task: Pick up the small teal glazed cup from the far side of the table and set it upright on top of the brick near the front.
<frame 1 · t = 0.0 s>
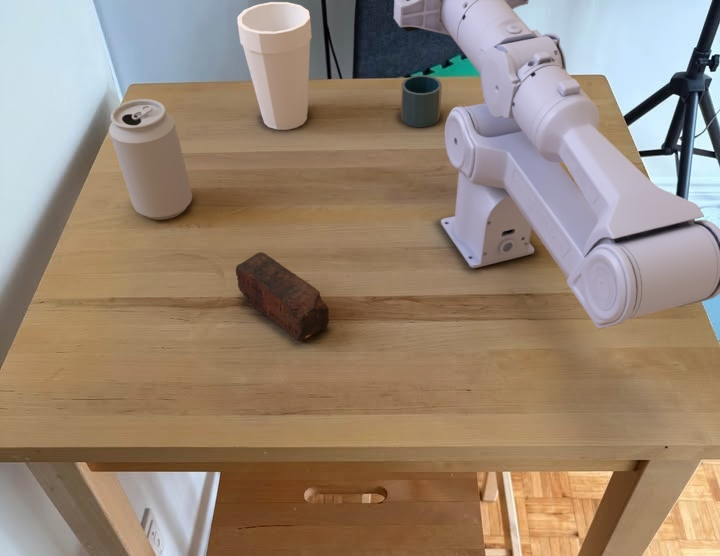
can: (164, 207, 90), on the table
cup: (420, 117, 101), on the table
brick: (284, 315, 78), on the table
foam cup: (285, 119, 102), on the table
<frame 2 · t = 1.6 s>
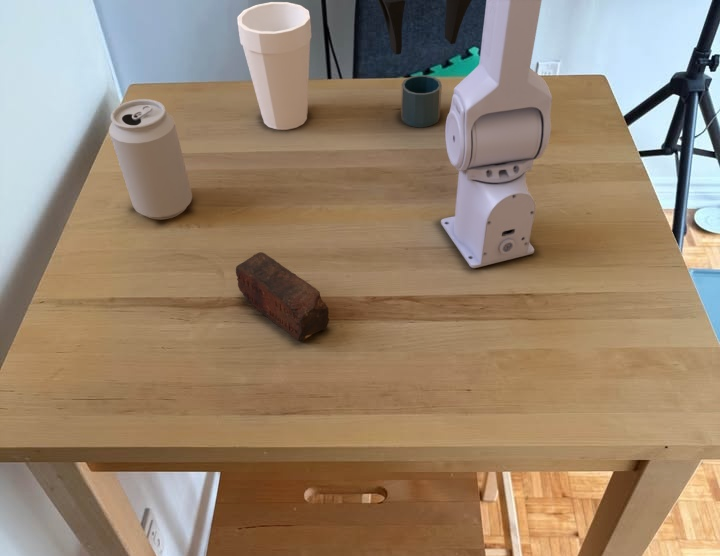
hand: (423, 45, 93), 9 cm above the table, tool pointing down, fingers open, 7 cm apart
nothing on the table moved.
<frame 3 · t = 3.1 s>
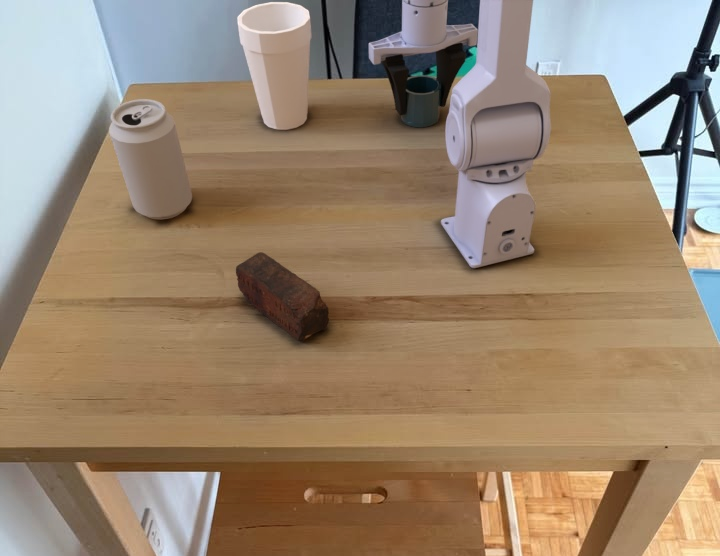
hand: (420, 107, 100), 1 cm above the table, tool pointing down, fingers closed on cup, 5 cm apart
cup: (420, 117, 101), on the table, touching gripper
everything else where it was.
when the fingers open (6 cm above the table, at t = 10.3 s): cup stays where it is, resting on brick.
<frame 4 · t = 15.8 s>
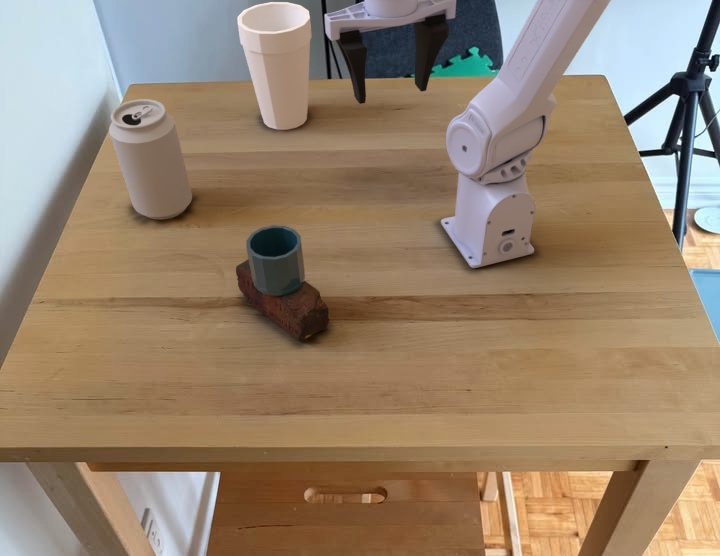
hand: (390, 93, 84), 10 cm above the table, tool pointing down, fingers open, 7 cm apart
cup: (279, 278, 74), point 5 cm above the table, touching brick
brick: (284, 315, 78), on the table, touching cup
everything else where it was.
at the end: cup inside the target area on the brick (0.1 cm from its centre), point 4.9 cm above the brick's base; cup tilted 0°; cup touching brick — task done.
